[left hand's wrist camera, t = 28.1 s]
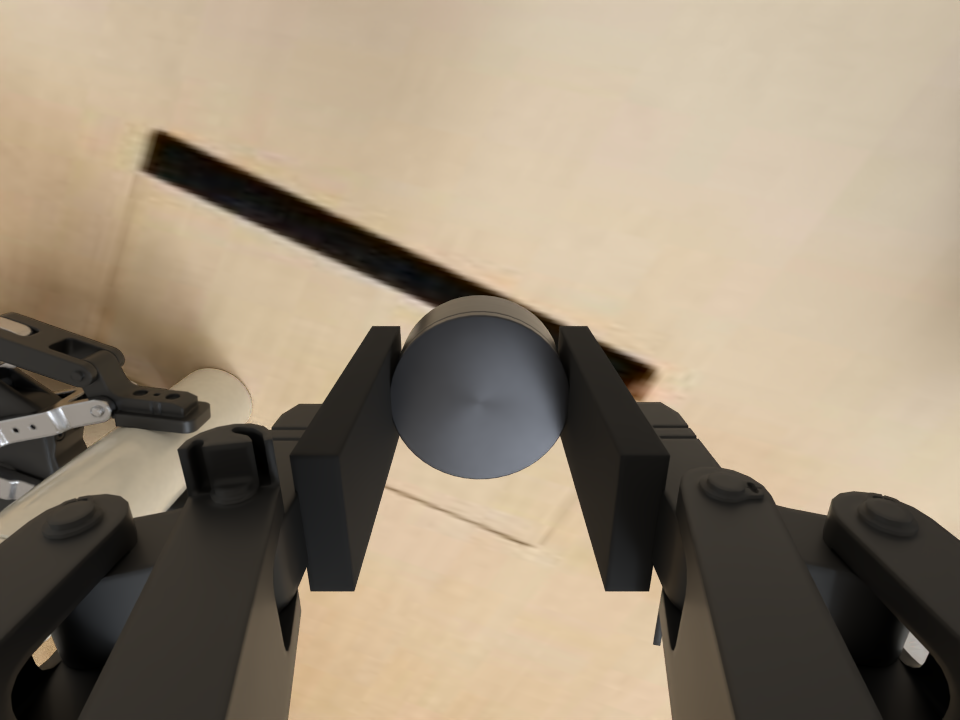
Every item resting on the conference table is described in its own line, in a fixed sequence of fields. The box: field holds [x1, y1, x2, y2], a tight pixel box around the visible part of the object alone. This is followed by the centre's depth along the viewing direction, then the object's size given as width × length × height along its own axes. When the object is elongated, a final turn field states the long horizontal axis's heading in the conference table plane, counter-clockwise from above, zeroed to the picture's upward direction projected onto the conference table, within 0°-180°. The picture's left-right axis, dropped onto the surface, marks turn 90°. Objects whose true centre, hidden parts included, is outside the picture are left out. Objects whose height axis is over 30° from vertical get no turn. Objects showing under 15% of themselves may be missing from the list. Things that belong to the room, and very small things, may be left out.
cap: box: [390, 296, 570, 479], centre depth 13 cm, size 4×4×2 cm
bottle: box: [0, 368, 252, 642], centre depth 23 cm, size 5×5×21 cm
